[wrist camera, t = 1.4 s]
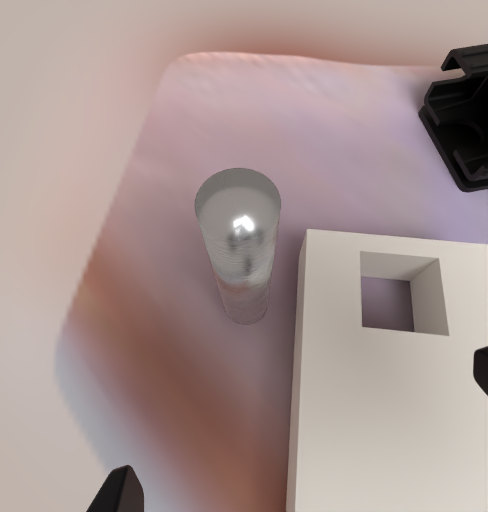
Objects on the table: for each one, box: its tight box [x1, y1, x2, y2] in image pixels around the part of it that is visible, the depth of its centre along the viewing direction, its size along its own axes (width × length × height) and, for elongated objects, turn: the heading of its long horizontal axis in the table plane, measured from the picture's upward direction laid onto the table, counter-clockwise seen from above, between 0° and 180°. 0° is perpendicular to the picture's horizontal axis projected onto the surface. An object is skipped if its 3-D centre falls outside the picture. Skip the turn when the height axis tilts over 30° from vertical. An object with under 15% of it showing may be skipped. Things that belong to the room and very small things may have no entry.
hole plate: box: [286, 229, 488, 512], centre depth 18 cm, size 18×11×4 cm, turn 174°
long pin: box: [195, 168, 281, 324], centre depth 17 cm, size 3×3×12 cm
